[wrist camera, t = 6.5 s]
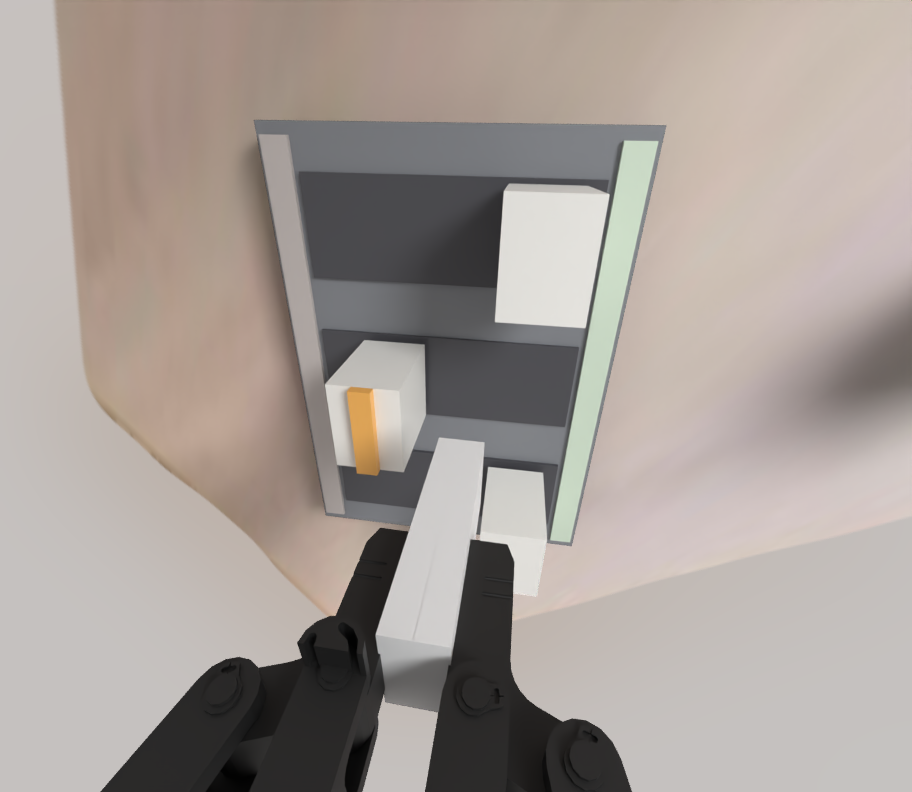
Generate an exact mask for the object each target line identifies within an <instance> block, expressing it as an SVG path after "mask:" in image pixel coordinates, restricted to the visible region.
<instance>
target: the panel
mask: <svg viewBox="0 0 912 792" xmlns="http://www.w3.org/2000/svg"><path fill="white" fill-rule="evenodd" d="M254 123H255V129H256V134H257V140H258V145H259V151H260V156H261V162H262V167H263V173H264V178H265V184H266V189H267V195H268V200H269V206H270V211H271V217H272V222H273V228H274V233H275V239H276V244H277V250H278V255H279V261H280V266H281V272H282V277H283V283H284V288H285V293H286V299H287V304H288V310H289V315H290V321H291V326H292V332H293V337H294V343H295V348H296V354H297V359H298V365H299V370H300V376H301V381H302V387H303V392H304V398H305V403H306V409H307V414H308V420H309V425H310V431H311V436H312V442H313V447H314V453H315V458H316V464H317V469H318V475H319V480H320V486H321V491H322V497H323V502H324V508H325V513H326V515H327V516H335V517H343V518H351V519H359V520H367V521H375V522H383V523H391V524H399V525H407V526H411V523H412V520H413V517H414V514H415V511H416V508H417V505H418V501H419V498H420V495H421V492H422V489H423V486H424V483H425V480H426V477H427V474H428V470H429V467H430V464H431V461H432V458H433V455H434V452H435V449H436V446H437V443H438V439H439V437H440V438H449V439H458V440H468V441H477V442H485V443H484V458H483V474H482V489H481V504H480V511H479V518H478V525H477V531H476V534H479V535H480V531H481V523H482V514H483V506H484V498H485V489H486V481H487V473H488V467H494V468H504V469H513V470H523V471H532V472H541V473H543V479H544V496H545V513H546V530H547V543H551V544H559V545H567V546H572V543H573V538H574V534H575V529H576V525H577V520H578V516H579V512H580V507H581V503H582V498H583V494H584V489H585V485H586V480H587V476H588V472H589V467H590V463H591V458H592V454H593V449H594V445H595V440H596V436H597V432H598V427H599V423H600V418H601V414H602V409H603V405H604V400H605V396H606V392H607V387H608V383H609V378H610V374H611V369H612V365H613V360H614V356H615V352H616V347H617V343H618V338H619V334H620V329H621V325H622V320H623V316H624V312H625V307H626V303H627V298H628V294H629V289H630V285H631V280H632V276H633V272H634V267H635V263H636V258H637V254H638V249H639V245H640V240H641V236H642V232H643V227H644V223H645V218H646V214H647V209H648V205H649V200H650V196H651V191H652V187H653V183H654V178H655V174H656V169H657V165H658V160H659V156H660V151H661V147H662V143H663V138H664V134H665V129H666V125H601V124H524V123H448V122H371V121H294V120H254ZM509 183H511V184H545V185H579V186H590V187H593V188H595V189H598V190H600V191H603V192H605V193H608V194H610V196H609V201H608V207H607V212H606V218H605V223H604V229H603V235H602V240H601V246H600V251H599V257H598V262H597V268H596V273H595V279H594V284H593V290H592V295H591V301H590V306H589V312H588V317H587V323H586V328H574V327H559V326H544V325H529V324H514V323H499V322H495V312H496V297H497V282H498V268H499V253H500V239H501V224H502V210H503V195H504V190H505V189H506V187H507V186H508V184H509ZM364 340H371V341H384V342H397V343H411V344H424V345H425V388H426V416H425V419H424V422H423V424H422V427H421V429H420V432H419V434H418V437H417V440H416V442H415V445H414V447H413V450H412V452H411V455H410V458H409V460H408V463H407V465H406V468H405V470H404V472H396V471H387V470H380V471H379V473H378V475H377V476H375V475H366V474H357V470H356V467H351V466H342V465H337V461H336V455H335V448H334V442H333V435H332V428H331V422H330V415H329V409H328V402H327V396H326V389H325V384H326V383H327V381H328V380H329V379H330V378H331V377H332V376H333V375H334V374H335V372H336V371H337V370H338V369H339V368H340V367H341V366H342V365H343V363H344V362H345V361H346V360H347V359H348V358H349V357H350V356H351V355H352V353H353V352H354V351H355V350H356V349H357V348H358V347H359V346H360V344H361V343H362V342H363V341H364Z"/></svg>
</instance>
